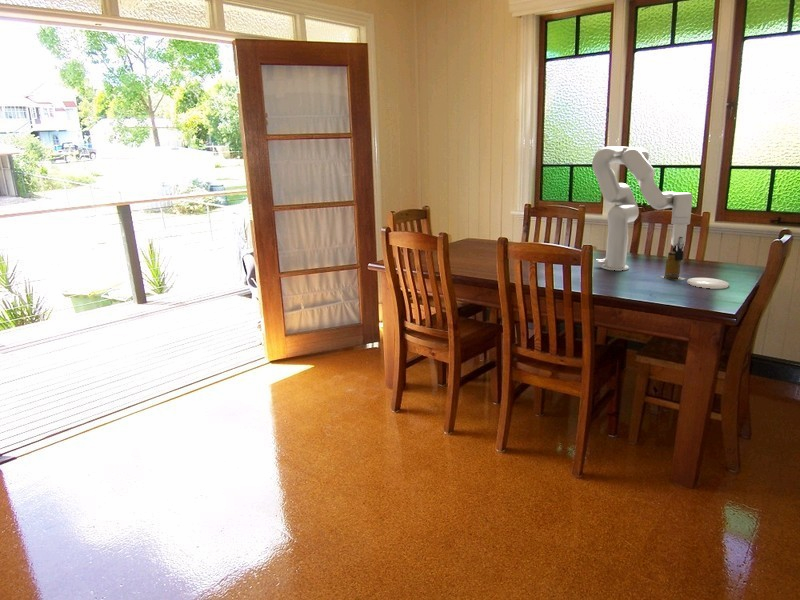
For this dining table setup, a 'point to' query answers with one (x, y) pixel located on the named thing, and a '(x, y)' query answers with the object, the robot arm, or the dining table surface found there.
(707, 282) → the plate
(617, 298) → the dining table surface
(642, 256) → the dining table surface
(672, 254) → the condiment
